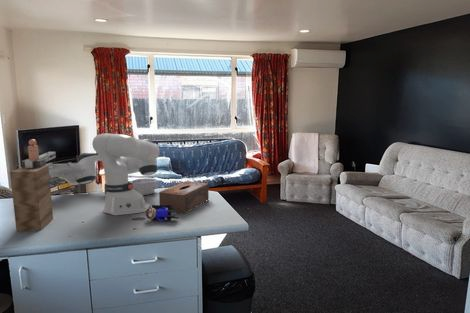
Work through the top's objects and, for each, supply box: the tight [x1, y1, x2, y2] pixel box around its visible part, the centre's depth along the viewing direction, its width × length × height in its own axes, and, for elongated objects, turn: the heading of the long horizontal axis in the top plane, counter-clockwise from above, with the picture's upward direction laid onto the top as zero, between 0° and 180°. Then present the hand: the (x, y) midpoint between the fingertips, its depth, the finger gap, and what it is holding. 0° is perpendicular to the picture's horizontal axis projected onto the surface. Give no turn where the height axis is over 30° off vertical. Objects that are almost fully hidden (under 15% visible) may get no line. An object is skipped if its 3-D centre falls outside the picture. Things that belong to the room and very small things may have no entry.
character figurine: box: [145, 204, 179, 223], centre depth 161 cm, size 8×7×15 cm
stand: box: [9, 158, 54, 232], centre depth 153 cm, size 10×14×29 cm
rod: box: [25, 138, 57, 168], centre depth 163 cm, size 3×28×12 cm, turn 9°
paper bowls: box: [130, 177, 158, 196], centre depth 207 cm, size 15×15×8 cm
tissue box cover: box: [158, 180, 210, 215], centre depth 184 cm, size 26×14×10 cm, turn 156°
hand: (59, 163), depth 187 cm, fingers open, 8 cm apart
